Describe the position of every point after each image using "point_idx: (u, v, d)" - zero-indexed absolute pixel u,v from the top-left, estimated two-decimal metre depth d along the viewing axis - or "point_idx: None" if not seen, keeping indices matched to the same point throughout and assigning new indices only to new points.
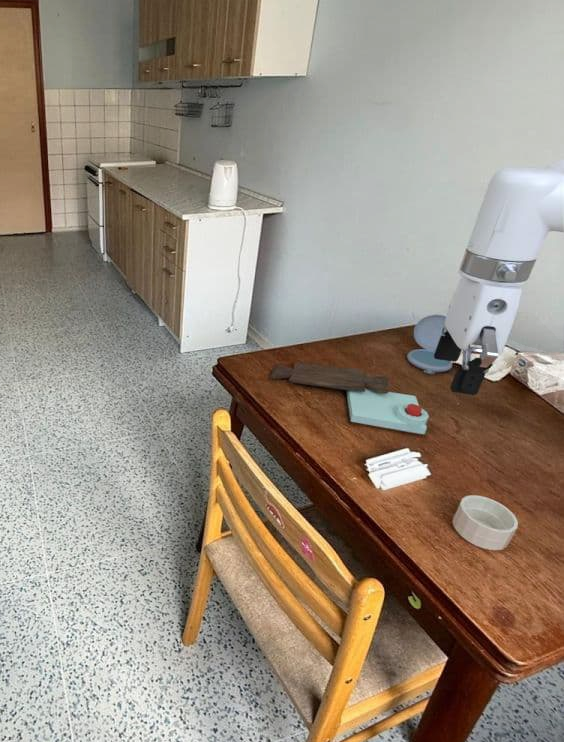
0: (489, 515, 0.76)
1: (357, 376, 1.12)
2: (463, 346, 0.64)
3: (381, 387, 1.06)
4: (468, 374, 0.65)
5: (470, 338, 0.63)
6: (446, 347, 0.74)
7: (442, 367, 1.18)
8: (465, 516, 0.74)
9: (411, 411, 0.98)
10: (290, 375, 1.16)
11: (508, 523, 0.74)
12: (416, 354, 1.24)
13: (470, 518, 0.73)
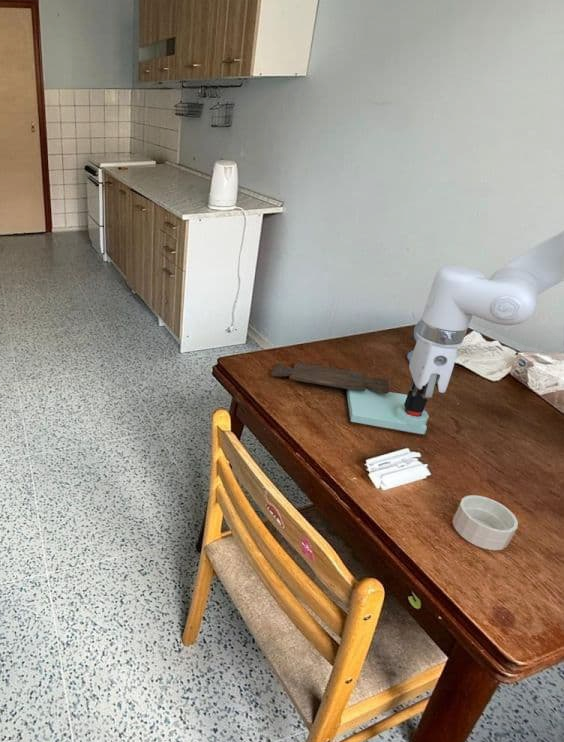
0: (489, 515, 0.76)
1: (357, 377, 1.12)
2: (419, 386, 0.91)
3: (381, 387, 1.07)
4: (416, 399, 0.96)
5: None
6: None
7: None
8: (465, 516, 0.74)
9: (410, 413, 0.98)
10: (290, 373, 1.16)
11: (508, 523, 0.74)
12: None
13: (470, 518, 0.73)
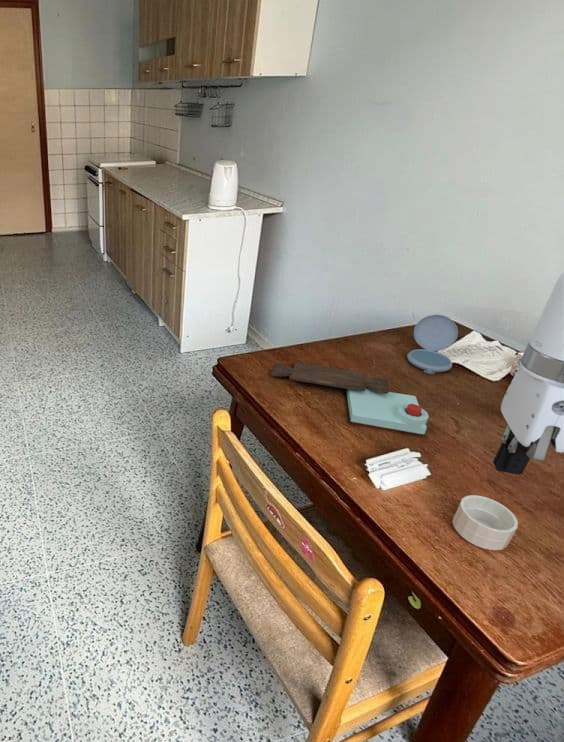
0: (489, 515, 0.76)
1: (357, 377, 1.12)
2: (524, 442, 0.63)
3: (381, 387, 1.07)
4: (514, 456, 0.68)
5: None
6: None
7: (442, 367, 1.18)
8: (465, 516, 0.74)
9: (411, 411, 0.98)
10: (290, 373, 1.16)
11: (508, 523, 0.74)
12: (416, 354, 1.24)
13: (470, 518, 0.73)
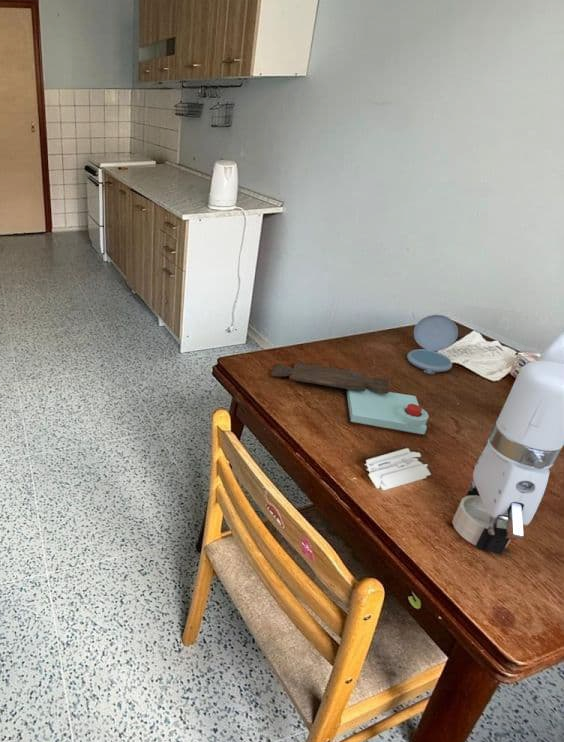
0: (489, 515, 0.76)
1: (357, 377, 1.12)
2: (492, 514, 0.69)
3: (381, 387, 1.07)
4: (494, 538, 0.70)
5: (498, 512, 0.68)
6: None
7: (442, 367, 1.18)
8: (465, 516, 0.74)
9: (411, 411, 0.98)
10: (290, 373, 1.16)
11: None
12: (416, 354, 1.24)
13: (470, 518, 0.73)
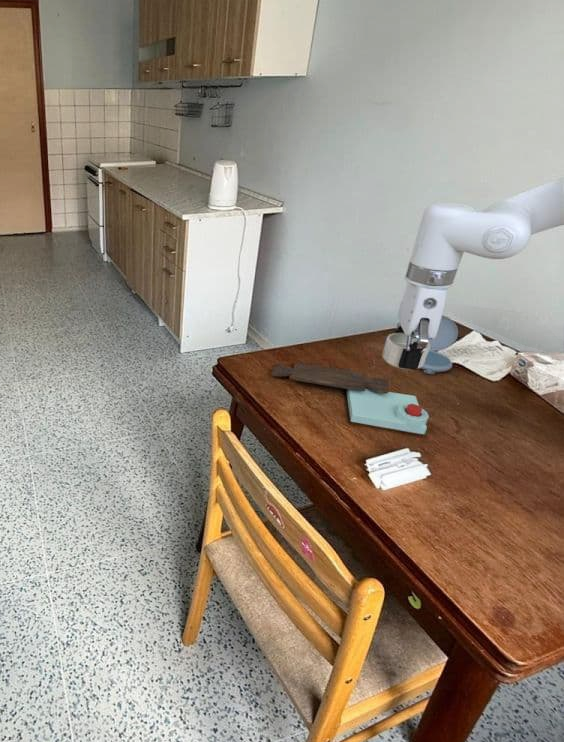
0: None
1: (357, 377, 1.12)
2: (408, 333, 0.87)
3: (381, 387, 1.07)
4: (410, 354, 0.88)
5: (411, 329, 0.86)
6: None
7: (442, 367, 1.18)
8: (390, 343, 0.92)
9: (411, 411, 0.98)
10: (290, 373, 1.16)
11: None
12: None
13: (393, 344, 0.91)
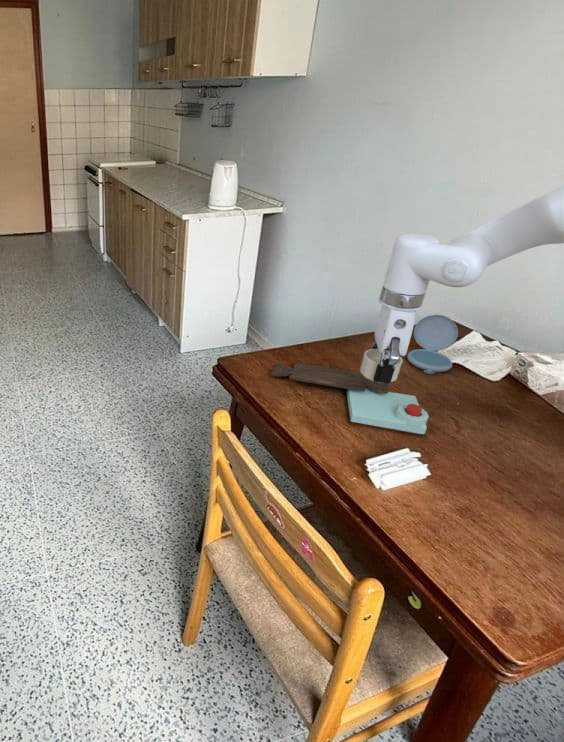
0: None
1: (357, 377, 1.12)
2: (381, 350, 0.96)
3: (381, 387, 1.07)
4: (383, 369, 0.97)
5: (384, 347, 0.95)
6: None
7: (442, 367, 1.18)
8: (366, 359, 1.01)
9: (411, 411, 0.98)
10: (290, 373, 1.16)
11: None
12: (416, 354, 1.24)
13: (369, 359, 1.00)
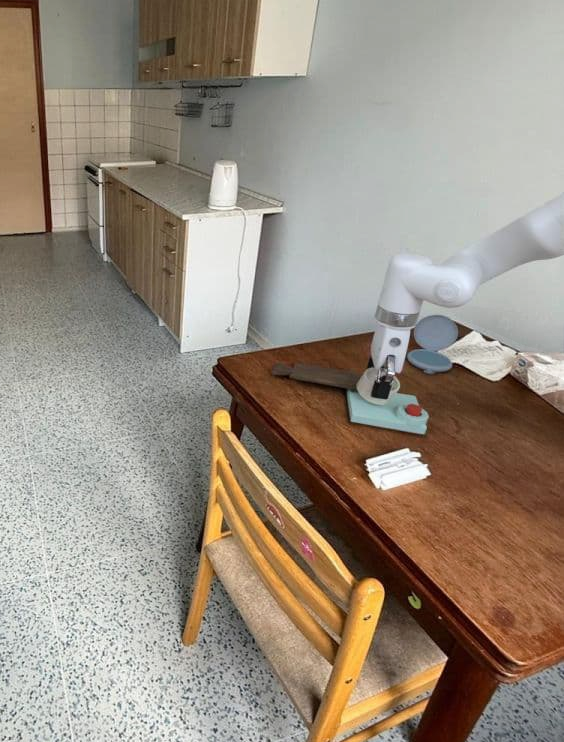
0: None
1: (357, 378, 1.12)
2: (376, 367, 0.97)
3: None
4: (380, 386, 0.98)
5: (380, 362, 0.96)
6: (373, 366, 1.07)
7: (442, 367, 1.18)
8: (365, 380, 1.02)
9: (411, 411, 0.98)
10: (290, 372, 1.16)
11: (394, 388, 1.03)
12: (416, 354, 1.24)
13: (368, 382, 1.01)
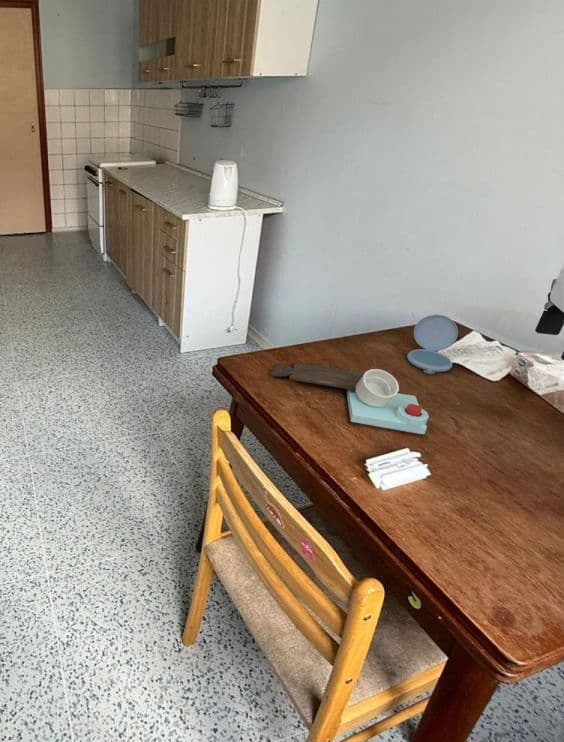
0: (383, 382, 1.05)
1: (357, 377, 1.12)
2: None
3: None
4: None
5: None
6: (549, 321, 0.79)
7: (442, 367, 1.18)
8: (363, 384, 1.02)
9: (411, 411, 0.98)
10: (290, 373, 1.16)
11: (393, 389, 1.02)
12: (416, 354, 1.24)
13: (366, 386, 1.01)
